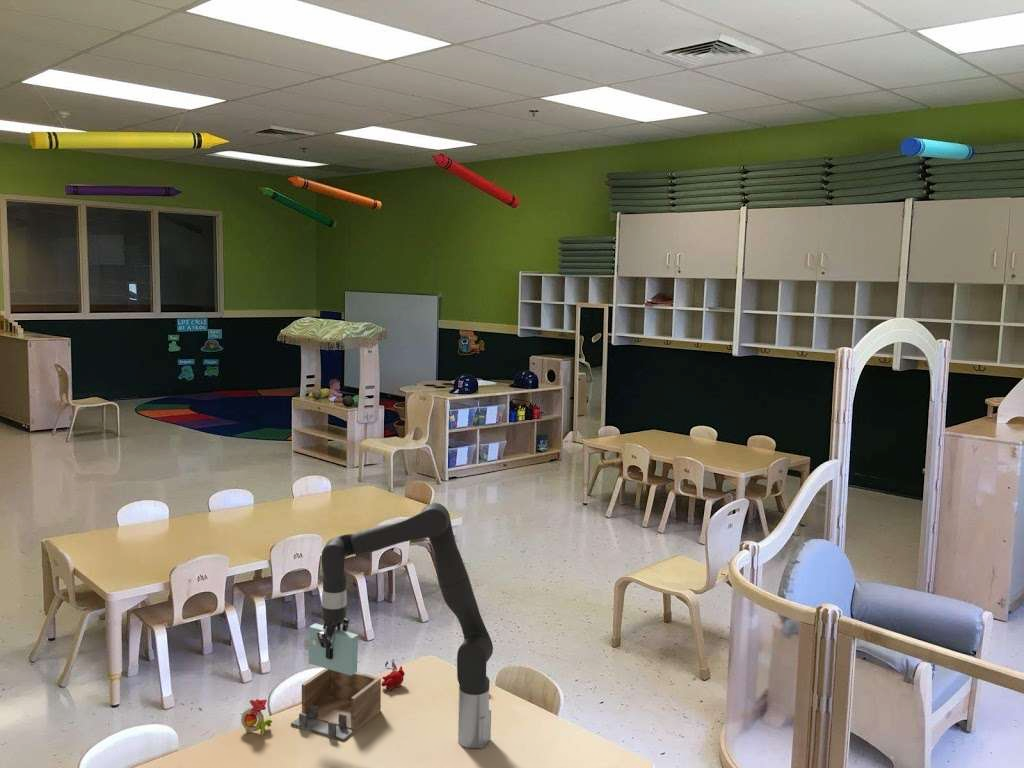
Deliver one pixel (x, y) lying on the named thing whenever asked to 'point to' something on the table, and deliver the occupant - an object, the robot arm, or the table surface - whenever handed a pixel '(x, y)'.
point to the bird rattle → (255, 717)
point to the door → (334, 651)
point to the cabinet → (338, 703)
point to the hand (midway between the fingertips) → (332, 656)
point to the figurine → (393, 677)
